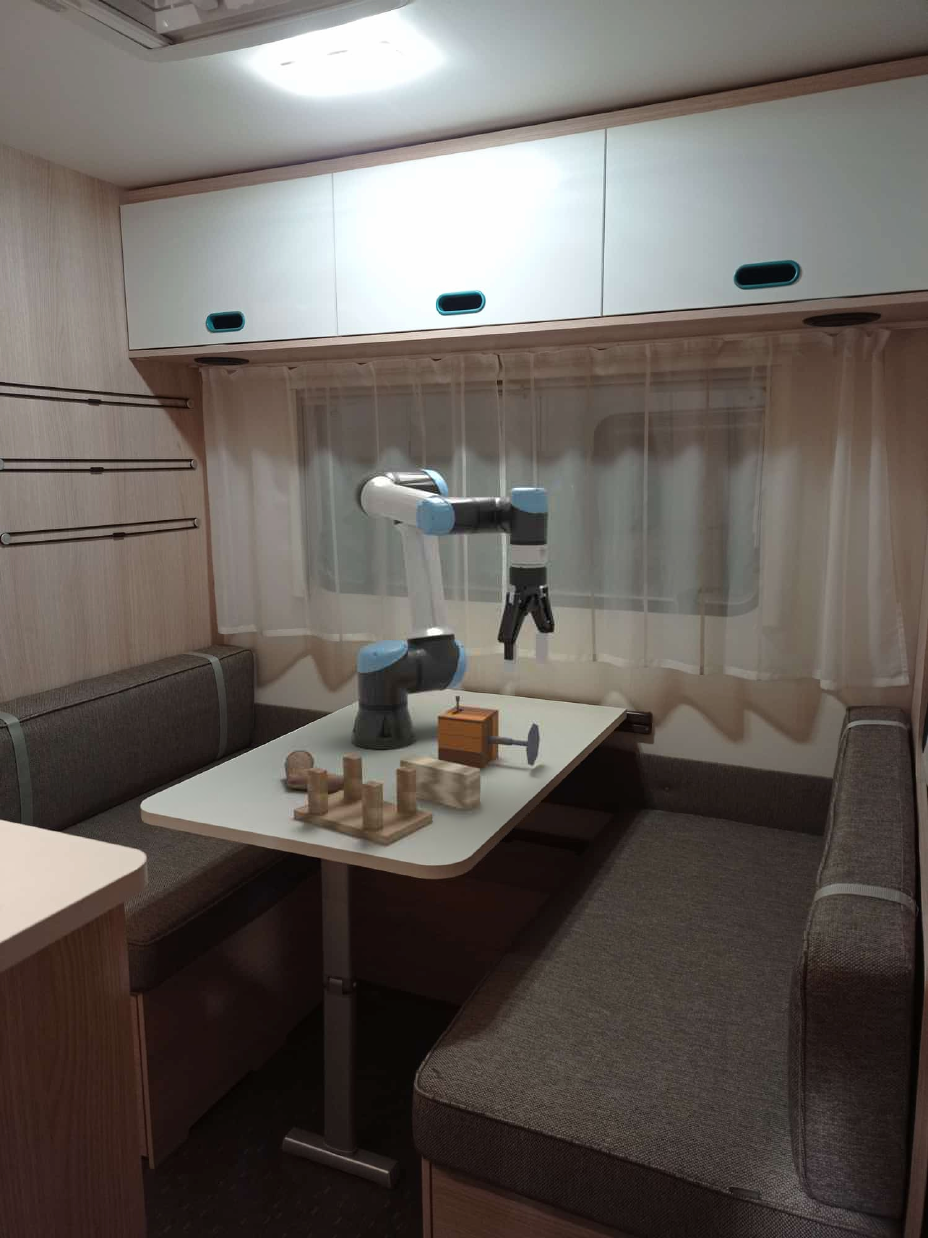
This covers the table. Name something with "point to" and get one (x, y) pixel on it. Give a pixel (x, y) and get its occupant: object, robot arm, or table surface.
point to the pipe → (298, 768)
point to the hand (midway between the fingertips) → (526, 669)
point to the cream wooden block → (445, 781)
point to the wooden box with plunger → (477, 737)
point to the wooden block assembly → (363, 804)
